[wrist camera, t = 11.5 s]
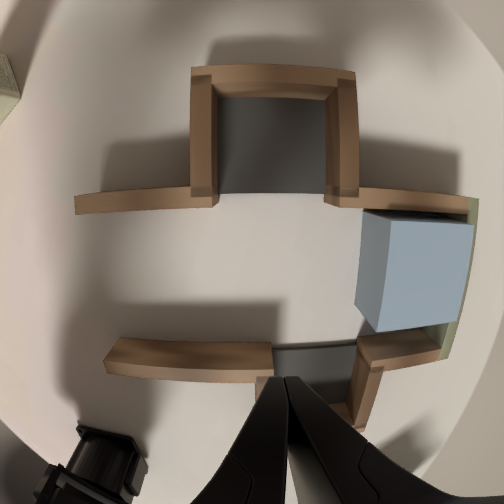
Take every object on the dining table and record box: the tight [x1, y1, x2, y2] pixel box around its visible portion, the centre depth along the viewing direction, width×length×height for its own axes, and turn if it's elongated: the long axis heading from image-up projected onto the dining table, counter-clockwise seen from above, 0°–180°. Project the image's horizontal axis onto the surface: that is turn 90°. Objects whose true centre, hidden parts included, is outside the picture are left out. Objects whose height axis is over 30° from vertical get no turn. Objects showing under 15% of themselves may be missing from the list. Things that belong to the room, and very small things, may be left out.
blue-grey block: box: [354, 211, 474, 332], centre depth 16 cm, size 6×6×4 cm
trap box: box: [74, 64, 479, 433], centre depth 16 cm, size 23×23×3 cm
